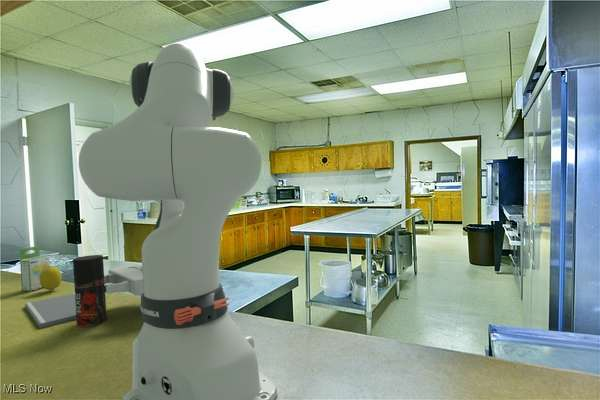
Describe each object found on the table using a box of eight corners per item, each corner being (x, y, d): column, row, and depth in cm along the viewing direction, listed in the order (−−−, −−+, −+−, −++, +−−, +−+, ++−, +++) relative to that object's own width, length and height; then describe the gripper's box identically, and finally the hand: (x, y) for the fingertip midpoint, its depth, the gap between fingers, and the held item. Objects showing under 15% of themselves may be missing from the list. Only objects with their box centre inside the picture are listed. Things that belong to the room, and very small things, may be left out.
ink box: (31, 291, 107) (28, 249, 106) (21, 291, 107) (18, 249, 107) (52, 285, 113) (49, 245, 113) (42, 285, 114) (39, 245, 114)
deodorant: (112, 316, 82) (108, 254, 81) (95, 327, 76) (91, 260, 76) (89, 317, 83) (85, 255, 82) (70, 327, 77) (66, 260, 76)
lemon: (43, 290, 108) (41, 265, 108) (64, 287, 110) (62, 262, 110) (38, 295, 103) (36, 268, 103) (60, 292, 105) (58, 266, 105)
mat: (100, 313, 85) (99, 308, 85) (40, 328, 76) (39, 323, 76) (77, 295, 100) (77, 292, 100) (25, 307, 92) (24, 303, 92)
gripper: (142, 257, 97) (86, 266, 88) (174, 267, 83) (112, 279, 73) (143, 279, 98) (87, 291, 88) (176, 292, 83) (114, 308, 73)
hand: (99, 286), depth 80 cm, fingers open, 8 cm apart
